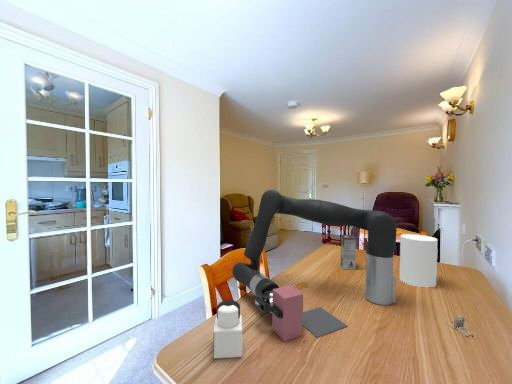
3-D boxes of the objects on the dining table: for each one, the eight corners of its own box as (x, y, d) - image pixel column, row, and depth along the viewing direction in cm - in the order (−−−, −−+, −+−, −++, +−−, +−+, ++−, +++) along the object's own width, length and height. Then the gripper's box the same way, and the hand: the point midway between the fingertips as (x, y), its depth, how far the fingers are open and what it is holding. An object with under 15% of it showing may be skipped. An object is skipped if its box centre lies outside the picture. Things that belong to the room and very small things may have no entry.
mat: (320, 307, 82) (320, 306, 82) (347, 326, 71) (347, 325, 71) (292, 316, 76) (292, 315, 76) (316, 337, 66) (316, 336, 66)
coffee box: (340, 263, 128) (340, 234, 127) (352, 264, 127) (352, 234, 126) (342, 269, 119) (343, 238, 118) (356, 270, 118) (356, 238, 117)
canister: (402, 284, 101) (404, 239, 100) (396, 273, 113) (398, 233, 112) (441, 290, 96) (442, 242, 95) (430, 278, 108) (431, 235, 107)
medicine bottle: (216, 340, 64) (215, 297, 64) (241, 338, 65) (241, 296, 65) (213, 359, 57) (213, 311, 57) (242, 357, 58) (242, 310, 58)
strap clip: (478, 339, 66) (479, 324, 66) (469, 339, 66) (469, 325, 65) (450, 321, 74) (451, 308, 74) (441, 322, 74) (442, 309, 74)
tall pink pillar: (290, 323, 72) (290, 285, 72) (302, 335, 67) (303, 294, 66) (272, 328, 70) (272, 289, 69) (284, 341, 64) (284, 298, 64)
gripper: (245, 281, 77) (270, 305, 63) (281, 274, 84) (312, 294, 69) (245, 303, 78) (270, 332, 63) (281, 294, 84) (312, 318, 69)
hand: (292, 312), depth 66 cm, fingers closed on tall pink pillar, 6 cm apart
